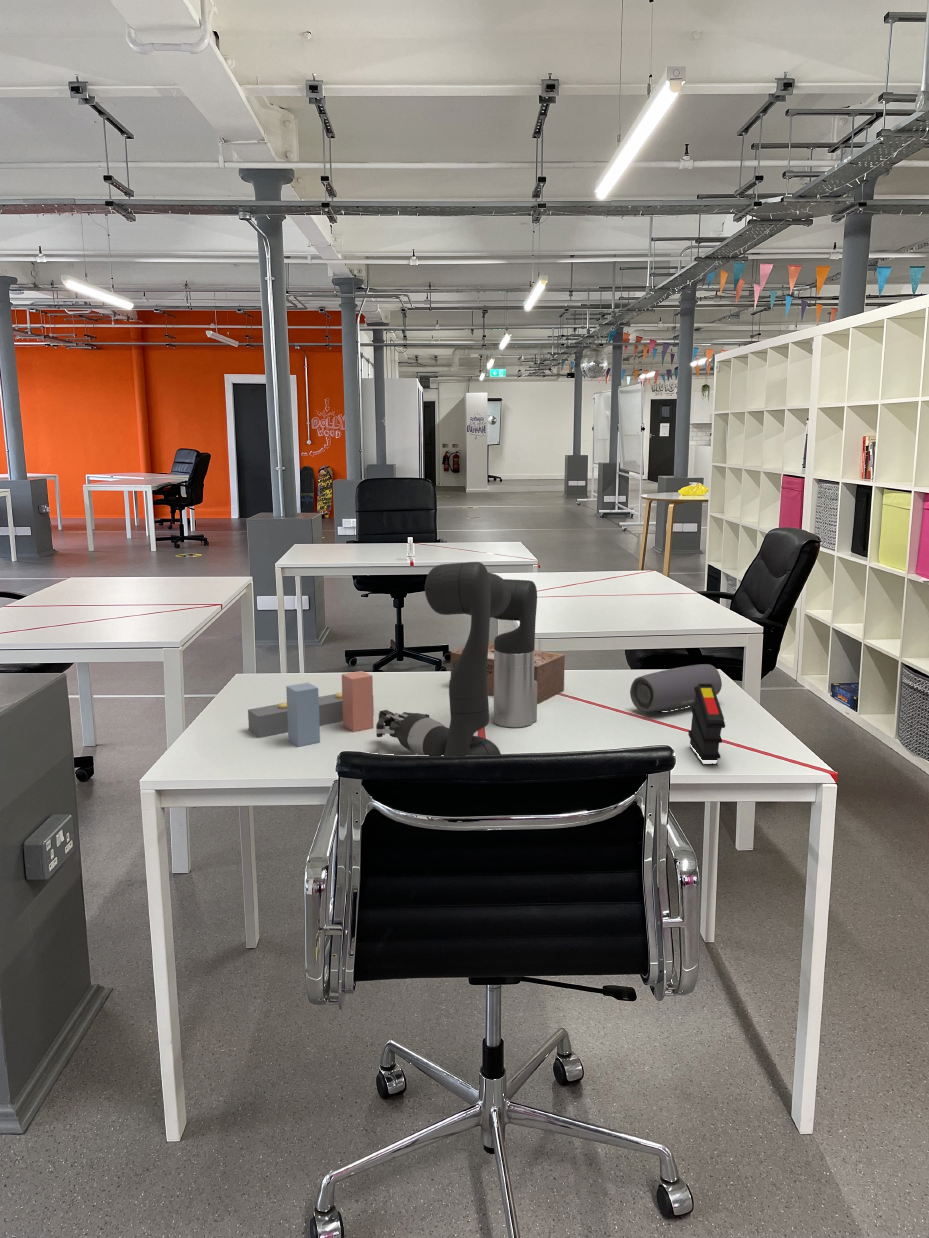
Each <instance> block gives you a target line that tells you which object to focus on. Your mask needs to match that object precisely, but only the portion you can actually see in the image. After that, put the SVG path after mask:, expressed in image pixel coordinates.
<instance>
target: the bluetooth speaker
mask: <svg viewBox="0 0 929 1238" xmlns="http://www.w3.org/2000/svg"><path fill="white" fill-rule="evenodd" d="M721 677H722V676H721V675H720V672H719V671H718V669H717V668H716V667H715V666H714V665H712V664H709V663H707V664H706V663H704V664H691V665H686V666H680V667H674V668H669V669H665V670H660V671H655V672H651V673H647V674H643V675H642V676H639V677H636V678H635V679H634V680H633V681H632V682H631V685H630V689H629V693H630V700H631V701H632V702H631V703H632V704H633V705H634V707H635V709H638V710H639V711H642V712H655V711H656V712H657V711H658V710H660V711H671V710H675V709H681V708H685V707H688V706H692V705H693V706H694V701H695V696H696V694H695V690H694V688H695V687H697V686H698V684H699V683H711V684H713V686H714V689H715V693H716V696H717V695H718V694H719V693H720V692H721V691H722V687H723V686H722V678H721ZM660 711H659V712H660Z"/></svg>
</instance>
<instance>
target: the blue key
mask: <svg viewBox="0 0 929 1238" xmlns="http://www.w3.org/2000/svg"><path fill="white" fill-rule="evenodd" d="M285 689H286V703H287V717H288V733H287V737H288V741H289V742H290V743H292V744H293V745H295V746H296V747H297V748H299V747H305V746H309V745H314V744H319V743H320V742H321V731H320V727H321V726H320V725H319V697H320V696H319V687H317V686H315V685H313V684H312V683H309V682H304V683H303V682H302V683H298V684H297V683H296V684H291V685H285Z"/></svg>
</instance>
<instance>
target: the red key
mask: <svg viewBox="0 0 929 1238" xmlns="http://www.w3.org/2000/svg"><path fill="white" fill-rule="evenodd" d="M373 683H374V682H373V675H372V674H370V673H367V672H365V671H363V670H360V671H359V670H358V671H353V672H347V673H341V693H342V706H343V722H342V727H344V728H345V729H348V730H349V731H351V732H353V733H355V732H360V731H365V730H370V729H374V727H375V725H374V715H373V706H374V689H373V687H374V684H373Z"/></svg>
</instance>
